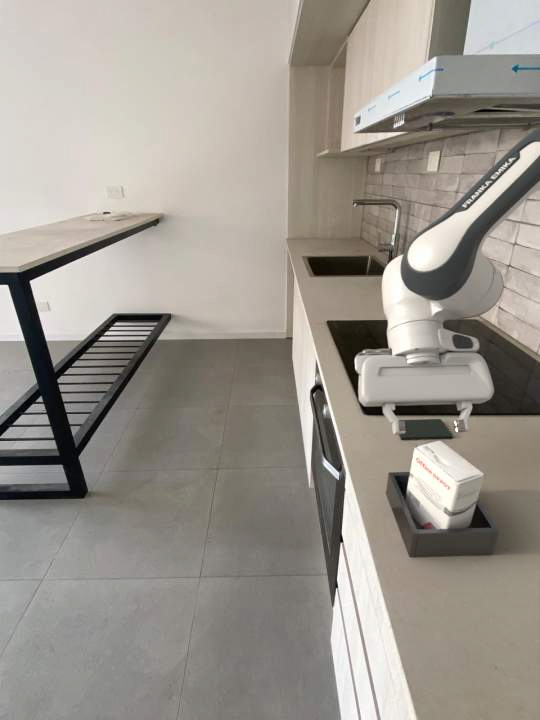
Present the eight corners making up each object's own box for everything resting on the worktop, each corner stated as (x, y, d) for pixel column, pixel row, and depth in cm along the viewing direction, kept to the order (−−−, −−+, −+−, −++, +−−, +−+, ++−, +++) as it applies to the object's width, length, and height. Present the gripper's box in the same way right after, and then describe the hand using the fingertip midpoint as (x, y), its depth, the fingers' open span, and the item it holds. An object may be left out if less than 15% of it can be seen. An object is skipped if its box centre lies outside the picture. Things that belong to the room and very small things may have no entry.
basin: (455, 491, 65) (460, 470, 63) (492, 555, 54) (499, 531, 52) (385, 493, 65) (388, 472, 63) (409, 557, 54) (413, 533, 52)
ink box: (470, 538, 57) (487, 473, 51) (442, 549, 55) (457, 484, 50) (427, 496, 64) (438, 436, 59) (401, 506, 62) (411, 445, 57)
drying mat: (440, 421, 83) (440, 418, 83) (452, 438, 77) (452, 436, 77) (392, 422, 83) (392, 420, 83) (401, 440, 77) (401, 437, 77)
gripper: (357, 342, 61) (366, 431, 57) (488, 338, 61) (508, 427, 57) (349, 356, 67) (357, 437, 63) (470, 353, 67) (486, 434, 63)
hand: (430, 433), depth 60 cm, fingers open, 8 cm apart
